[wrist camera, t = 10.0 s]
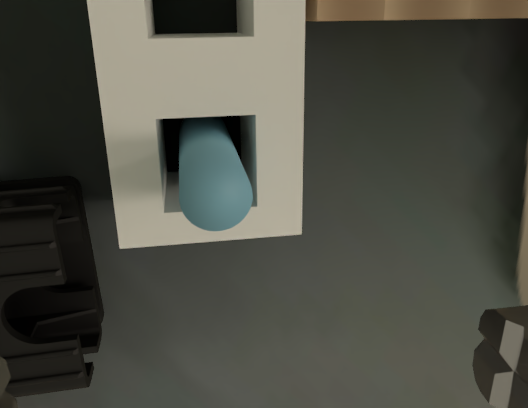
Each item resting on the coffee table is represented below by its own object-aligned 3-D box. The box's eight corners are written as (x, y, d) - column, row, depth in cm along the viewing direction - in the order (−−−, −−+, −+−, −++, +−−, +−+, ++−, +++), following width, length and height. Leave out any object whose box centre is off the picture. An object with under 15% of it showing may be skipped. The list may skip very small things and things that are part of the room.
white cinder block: (276, -95, 23) (307, -131, 17) (277, 190, 28) (301, 234, 22) (97, -98, 21) (68, -139, 16) (132, 200, 26) (119, 248, 21)
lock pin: (225, 108, 25) (252, 159, 16) (227, 155, 26) (253, 228, 17) (177, 110, 25) (176, 164, 16) (180, 157, 26) (181, 234, 17)
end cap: (-70, 177, 24) (-155, 231, 18) (77, 165, 25) (44, 213, 19) (-20, 342, 28) (-77, 435, 22) (107, 326, 29) (87, 410, 23)
